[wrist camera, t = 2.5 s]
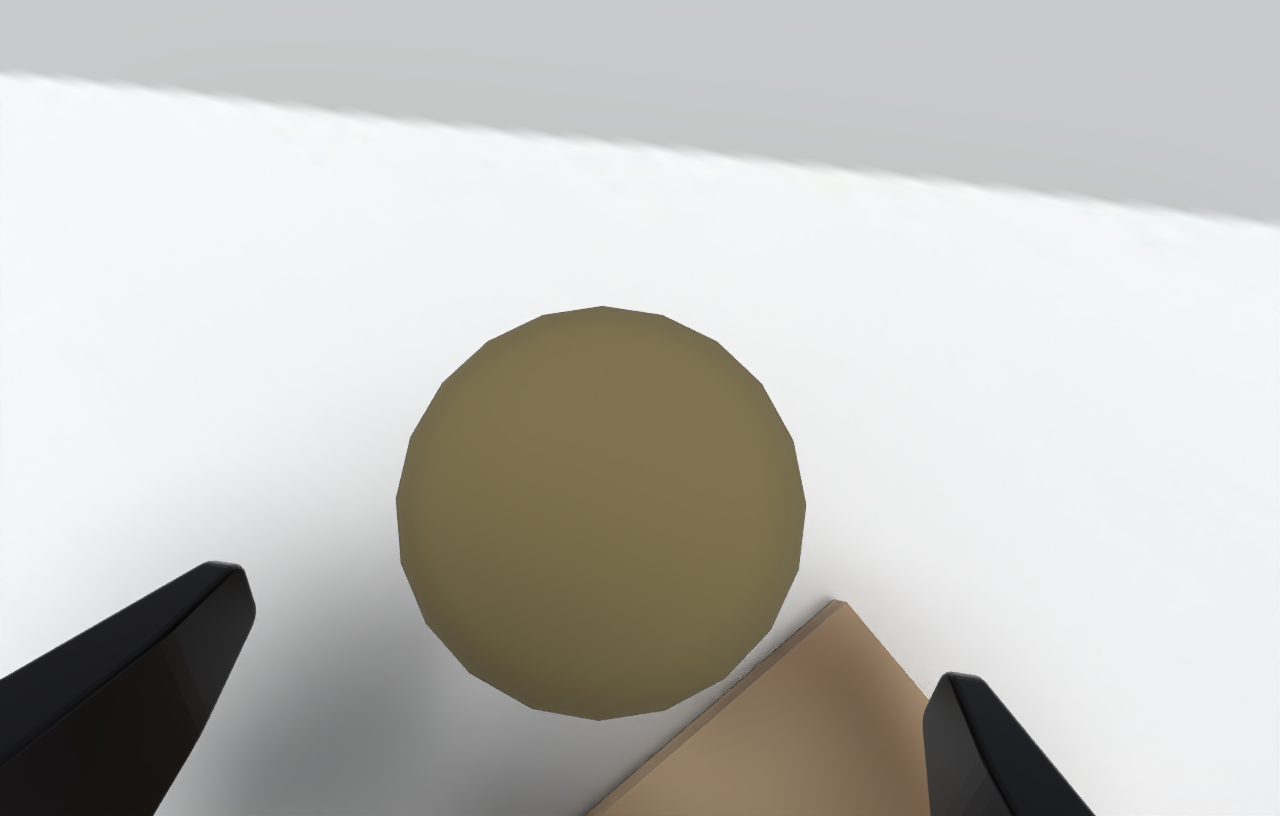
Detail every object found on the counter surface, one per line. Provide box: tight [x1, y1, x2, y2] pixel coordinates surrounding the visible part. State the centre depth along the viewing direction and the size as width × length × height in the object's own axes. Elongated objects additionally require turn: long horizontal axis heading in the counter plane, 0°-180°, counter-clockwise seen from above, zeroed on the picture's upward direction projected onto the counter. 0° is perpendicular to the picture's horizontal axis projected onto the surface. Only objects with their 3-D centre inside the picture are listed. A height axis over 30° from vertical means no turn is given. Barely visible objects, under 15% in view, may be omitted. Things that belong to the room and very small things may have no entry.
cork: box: [396, 306, 806, 721], centre depth 13 cm, size 6×6×11 cm
